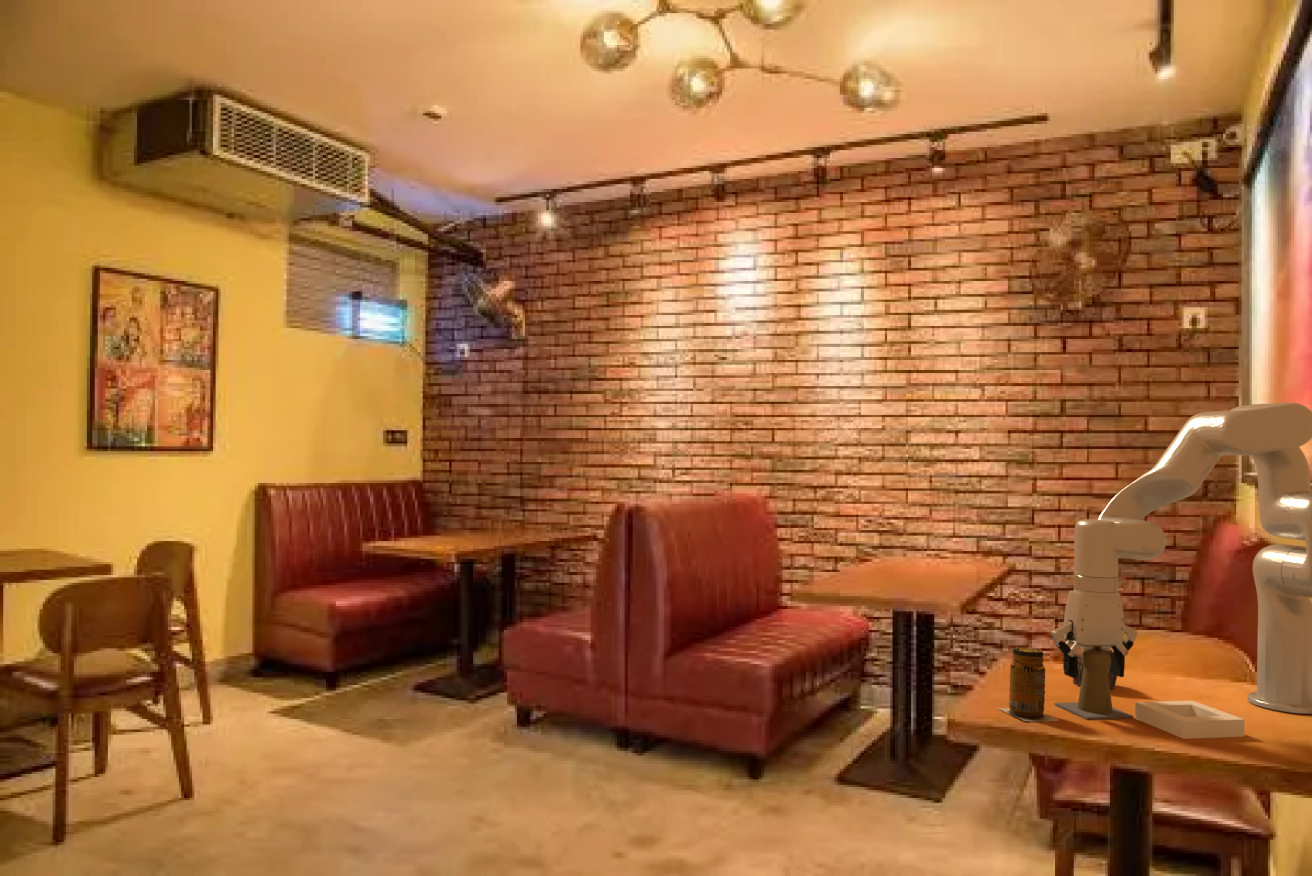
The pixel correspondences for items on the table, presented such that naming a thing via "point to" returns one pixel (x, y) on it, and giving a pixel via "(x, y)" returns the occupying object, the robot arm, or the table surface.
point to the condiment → (1027, 686)
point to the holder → (1189, 719)
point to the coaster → (1087, 715)
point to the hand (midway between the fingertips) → (1093, 675)
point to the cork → (1095, 683)
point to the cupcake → (1078, 680)
